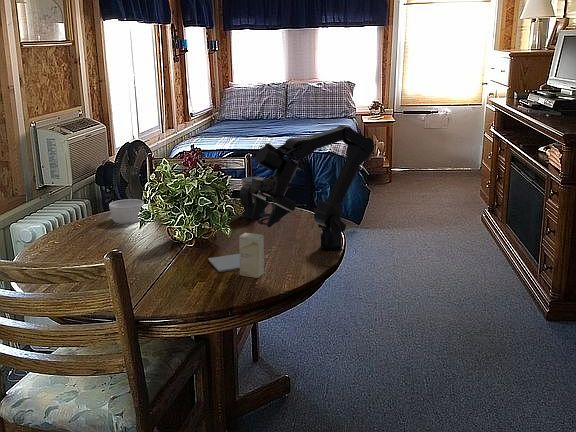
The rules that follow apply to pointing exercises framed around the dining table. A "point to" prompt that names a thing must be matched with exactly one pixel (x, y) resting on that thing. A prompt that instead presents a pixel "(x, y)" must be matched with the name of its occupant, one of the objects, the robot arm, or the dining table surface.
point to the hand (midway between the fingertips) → (260, 223)
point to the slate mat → (226, 262)
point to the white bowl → (126, 210)
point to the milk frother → (248, 198)
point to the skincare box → (251, 255)
